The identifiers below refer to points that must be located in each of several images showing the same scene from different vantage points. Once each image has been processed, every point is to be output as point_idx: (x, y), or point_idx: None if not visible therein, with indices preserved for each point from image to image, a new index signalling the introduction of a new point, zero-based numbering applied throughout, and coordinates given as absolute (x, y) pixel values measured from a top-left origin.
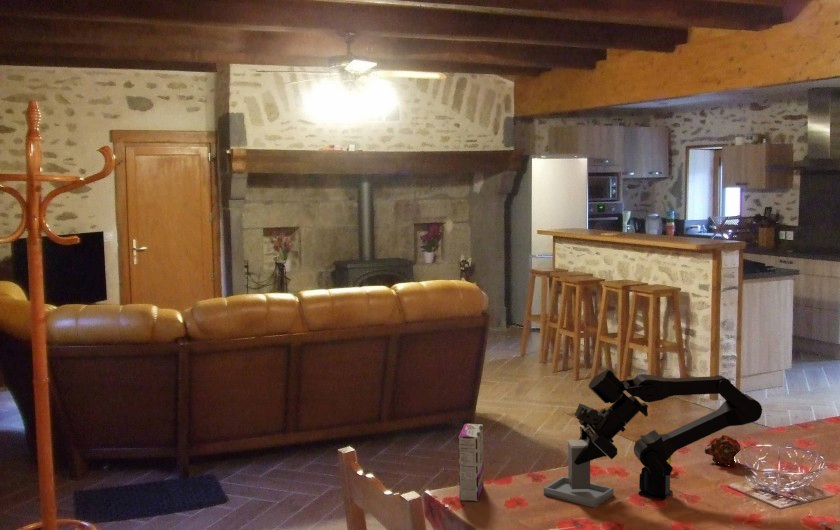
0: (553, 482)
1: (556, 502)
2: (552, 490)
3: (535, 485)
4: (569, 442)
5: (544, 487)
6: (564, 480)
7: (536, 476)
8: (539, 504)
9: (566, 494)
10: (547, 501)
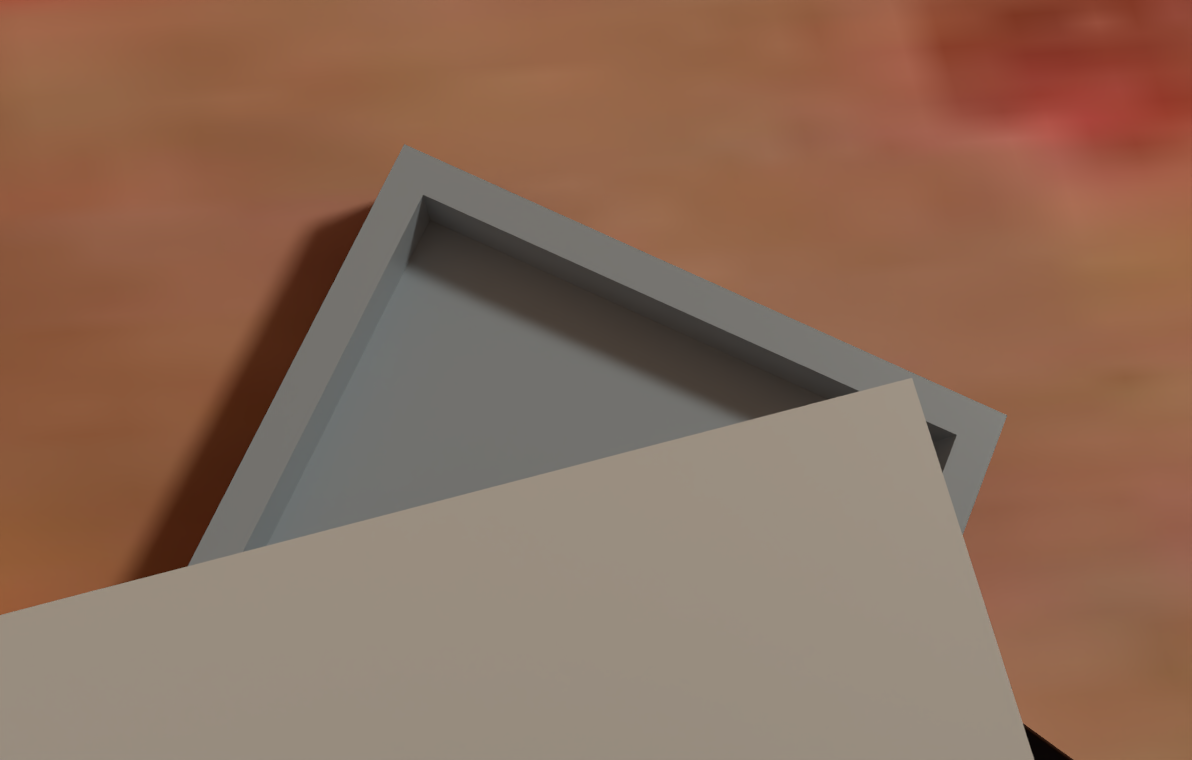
0: (677, 278)
1: (142, 388)
2: (333, 289)
3: (765, 48)
4: (428, 518)
5: (420, 154)
6: (937, 448)
7: (1126, 36)
8: (24, 155)
9: (211, 528)
10: (162, 257)
